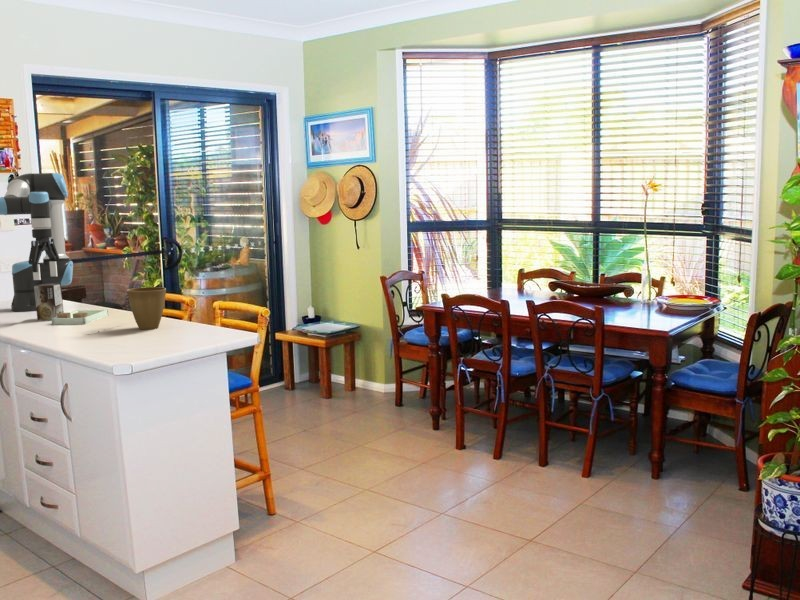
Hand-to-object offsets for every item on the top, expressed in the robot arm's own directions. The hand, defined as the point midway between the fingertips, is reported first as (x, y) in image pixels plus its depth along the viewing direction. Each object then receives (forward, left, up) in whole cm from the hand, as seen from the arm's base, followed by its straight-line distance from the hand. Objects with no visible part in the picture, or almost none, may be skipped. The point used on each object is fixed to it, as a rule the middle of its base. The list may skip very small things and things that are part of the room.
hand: (45, 278), depth 325 cm
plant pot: (+19, +51, -19) cm, 58 cm away
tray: (+3, +15, -19) cm, 24 cm away
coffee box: (0, 0, -19) cm, 19 cm away
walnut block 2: (+10, +19, -18) cm, 28 cm away
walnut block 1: (+10, +12, -18) cm, 24 cm away
